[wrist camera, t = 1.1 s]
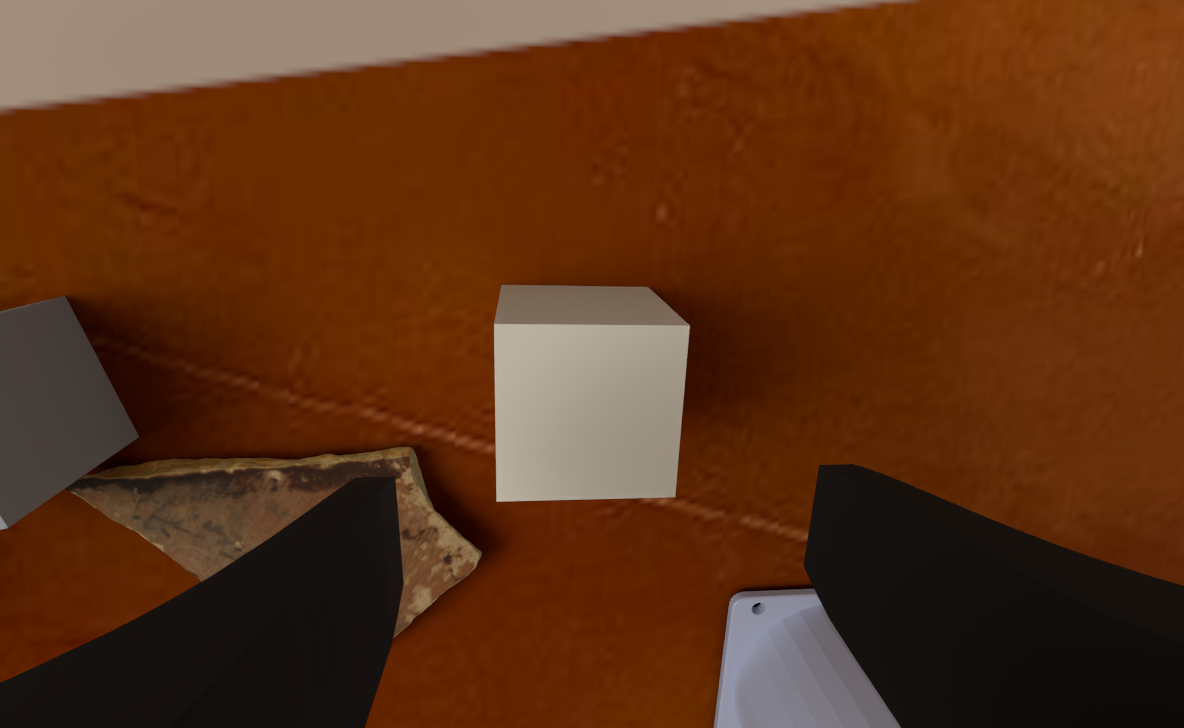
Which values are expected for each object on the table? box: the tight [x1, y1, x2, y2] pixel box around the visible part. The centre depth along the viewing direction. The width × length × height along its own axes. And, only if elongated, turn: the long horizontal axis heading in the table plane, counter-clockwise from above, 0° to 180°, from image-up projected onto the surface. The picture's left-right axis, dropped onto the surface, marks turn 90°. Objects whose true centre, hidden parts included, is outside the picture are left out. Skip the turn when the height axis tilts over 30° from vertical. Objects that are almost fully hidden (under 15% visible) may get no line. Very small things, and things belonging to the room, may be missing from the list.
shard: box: [65, 447, 482, 638], centre depth 19 cm, size 11×8×2 cm
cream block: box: [494, 285, 690, 502], centre depth 17 cm, size 4×4×5 cm
